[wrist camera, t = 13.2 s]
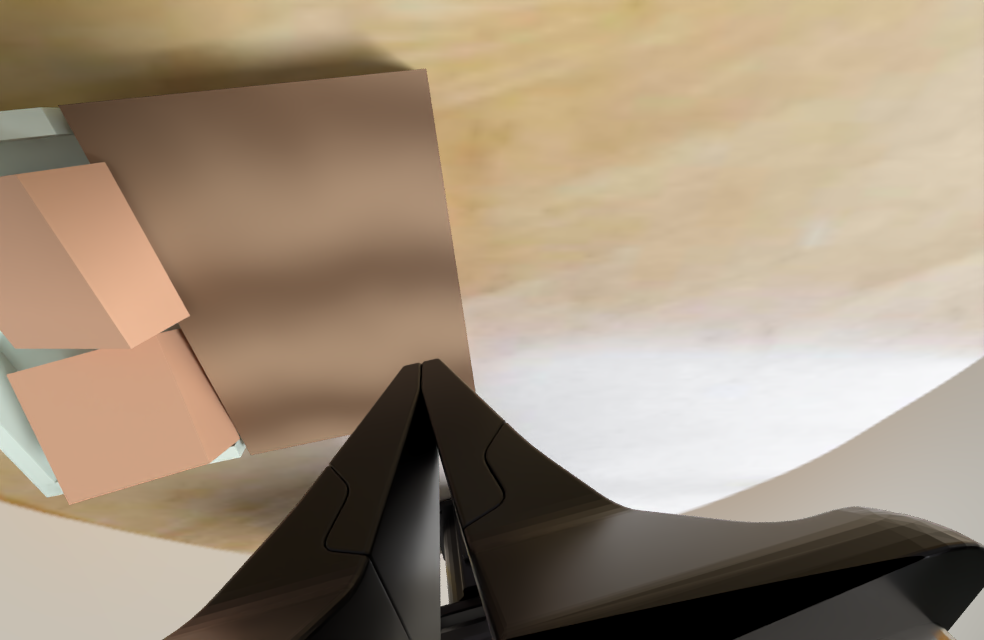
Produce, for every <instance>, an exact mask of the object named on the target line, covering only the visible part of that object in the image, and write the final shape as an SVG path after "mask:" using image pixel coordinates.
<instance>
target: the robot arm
mask: <svg viewBox="0 0 984 640" xmlns="http://www.w3.org/2000/svg"><path fill="white" fill-rule="evenodd" d="M438 452H439V453H438ZM439 455H440V459H441V462H442V466H443V469H444V473H445V476H446V480H447V483H448V487H449V490H450V494H451V497H452V499H451V500H447V501H442V502H439ZM440 547H441V550H442V554H443V558H444V560H445V561H446V573H447V583H448V594H449V604H448V605H444V606H440ZM983 588H984V545H982V544H980V543H978V542H976V541H974V540H972V539H970V538H968V537H966V536H964V535H962V534H961V533H959V532H957V531H954V530H952V529H949V528H947V527H944V526H941V525H939V524H936V523H933V522H931V521H928V520H925V519H921V518H918V517H914V516H910V515H906V514H900V513H894V512H890V511H886V510H880V509H874V508H868V507H847V508H841V509H837V510H832V511H829V512H826V513H822V514H818V515H816V516H812V517H808V518H804V519H799V520H793V521H784V522H759V523H757V522H740V521H730V520H722V519H712V518H703V517H694V516H686V515H677V514H668V513H659V512H650V511H641V510H634V509H630V508H627V507H624V506H622V505H619V504H617V503H615V502H613V501H611V500H609V499H608V498H606V497H604V496H603V495H601V494H600V493H598V492H597V491H595V490H594V489H593V488H591V487H590V486H588V485H587V484H585V483H584V482H583V481H581V480H580V479H578V478H577V477H575V476H574V475H573V474H571V473H570V472H568V471H567V470H565V469H564V468H563V467H561V466H560V465H558V464H557V463H555V462H554V461H553V460H551V459H550V458H548V457H547V456H546V455H544V454H543V453H542V452H540V451H539V450H538V449H536V448H535V447H534V446H532V445H531V444H530V443H529V442H528V441H526V440H525V439H524V438H523V437H522V436H521V435H520V434H518V433H517V432H516V431H515V430H514V429H513V428H512V427H511V426H510V425H509V424H508V423H506V422H505V420H503V419H502V418H501V417H500V416H499V415H498V414H497V413H496V412H495V411H494V410H493V409H492V408H491V407H490V406H489V405H488V404H487V403H486V402H485V401H484V400H482V399H481V398H480V397H479V396H478V395H477V394H476V393H475V392H474V391H473V390H472V389H471V388H470V387H469V386H468V385H467V384H466V383H465V382H464V381H463V380H462V379H460V378H459V377H458V376H457V375H456V374H455V373H454V372H453V371H452V370H451V369H450V368H449V367H448V366H447V365H446V364H445V363H444V362H443V361H442V360H440V359H439V358H436V359H432V360H427V361H424V362H423V363H422V364H421V363H414V364H409V365H405V366H403V367H402V369H401V370H400V371H399V373H398V374H397V375H396V376H395V378H394V379H393V380H392V382H391V383H390V384H389V386H388V387H387V388H386V390H385V391H384V392H383V394H382V395H381V396H380V398H379V399H378V400H377V401H376V403H375V404H374V405H373V407H372V408H371V409H370V411H369V412H368V413H367V415H366V416H365V417H364V419H363V420H362V421H361V423H360V424H359V425H358V426H357V428H356V429H355V430H354V432H353V433H352V434H351V436H350V437H349V438H348V440H347V441H346V442H345V444H344V445H343V446H342V448H341V449H340V450H339V451H338V453H337V454H336V455H335V457H334V458H333V459H332V461H331V462H330V463H329V466H327V467H326V468H325V470H324V471H323V472H322V474H321V475H320V476H319V478H318V479H317V480H316V481H315V483H314V484H313V485H312V487H311V488H310V489H309V490H308V492H307V493H306V494H305V495H304V497H303V498H302V499H301V500H300V502H299V503H298V504H297V505H296V506H295V507H294V509H293V510H292V511H291V512H290V513H289V514H288V515H287V517H286V518H285V519H284V520H283V521H282V522H281V523H280V525H279V526H278V527H277V528H276V529H275V530H274V531H273V532H272V534H271V535H270V536H269V537H268V538H267V539H266V540H265V541H264V542H263V543H262V545H261V546H260V547H259V548H258V549H257V550H256V551H255V552H254V553H253V555H252V556H251V557H250V558H249V559H248V560H247V561H246V562H245V563H244V565H243V566H242V567H241V568H240V569H239V570H238V571H237V572H236V573H235V574H234V576H233V577H232V578H231V579H230V580H229V581H228V582H227V583H226V584H225V586H224V587H223V588H222V589H221V590H220V591H219V592H218V593H217V594H216V595H215V597H213V599H212V600H211V601H210V602H209V603H208V604H207V605H206V606H205V607H204V608H203V609H202V610H201V611H199V612H198V613H197V614H196V615H195V616H194V617H193V618H192V619H191V620H189V621H188V622H187V623H185V624H184V625H183V626H182V627H180V628H179V629H178V630H176V631H175V632H173V633H172V634H170V635H169V636H167V637H166V638H164V639H163V640H956V639H955V638H954V637H953V636H952V635H951V634H950V633H949V632H948V630H949V629H950V628H951V627H952V626H953V624H954V623H955V622H956V621H957V619H958V618H959V617H960V616H961V615H962V613H963V612H964V611H965V610H966V608H967V607H968V606H969V605H970V603H971V602H972V601H973V600H974V599H975V597H976V596H977V595H978V594H979V592H980V591H981V590H982V589H983Z"/></svg>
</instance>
